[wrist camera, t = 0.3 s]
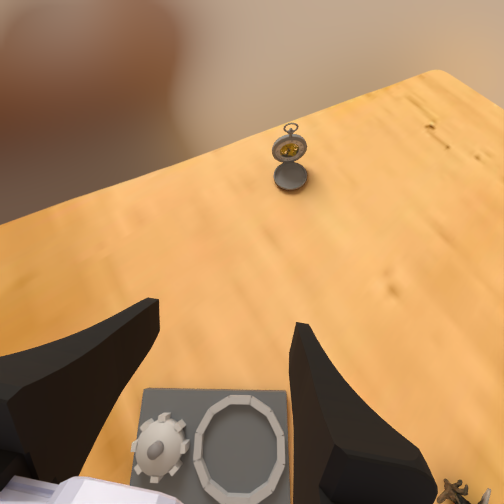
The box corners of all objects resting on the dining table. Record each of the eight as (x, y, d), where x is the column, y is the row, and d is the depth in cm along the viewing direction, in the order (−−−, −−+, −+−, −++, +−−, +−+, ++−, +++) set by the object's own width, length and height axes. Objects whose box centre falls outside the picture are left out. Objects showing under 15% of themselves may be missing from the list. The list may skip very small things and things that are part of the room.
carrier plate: (289, 504, 33) (292, 529, 28) (133, 496, 34) (111, 518, 30) (285, 390, 38) (287, 395, 33) (148, 388, 39) (131, 392, 34)
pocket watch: (288, 197, 50) (291, 161, 41) (261, 171, 53) (259, 132, 44) (319, 175, 51) (329, 136, 42) (291, 151, 54) (296, 109, 45)
